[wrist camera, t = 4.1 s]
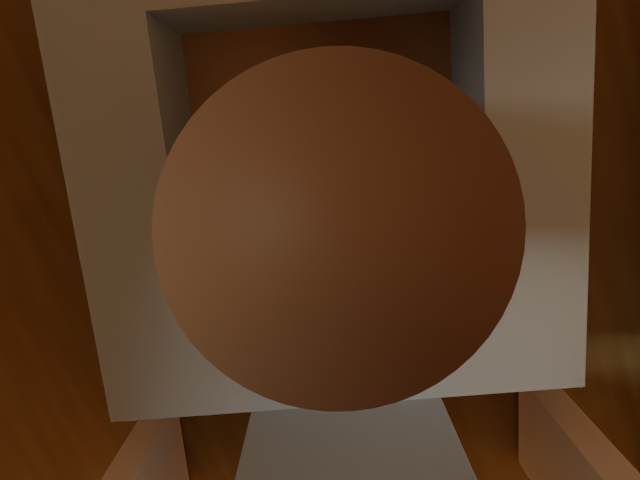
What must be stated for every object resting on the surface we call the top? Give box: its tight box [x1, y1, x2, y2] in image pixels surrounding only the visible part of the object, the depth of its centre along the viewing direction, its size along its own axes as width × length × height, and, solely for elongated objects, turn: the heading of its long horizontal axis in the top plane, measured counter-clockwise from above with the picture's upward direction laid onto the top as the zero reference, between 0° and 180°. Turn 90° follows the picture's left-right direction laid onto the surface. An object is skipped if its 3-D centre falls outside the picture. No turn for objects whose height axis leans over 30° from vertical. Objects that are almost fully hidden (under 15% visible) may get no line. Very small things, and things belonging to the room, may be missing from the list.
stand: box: [152, 11, 526, 412], centre depth 8 cm, size 11×11×10 cm
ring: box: [31, 0, 597, 480], centre depth 9 cm, size 10×15×7 cm, turn 5°
